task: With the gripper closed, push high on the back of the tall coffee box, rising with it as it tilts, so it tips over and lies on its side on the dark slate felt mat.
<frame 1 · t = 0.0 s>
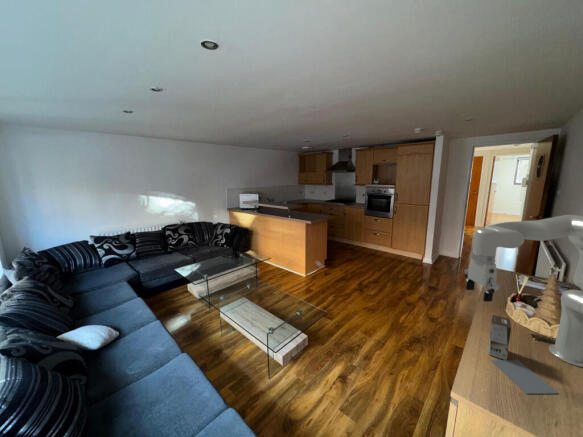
hand: (478, 295, 100), 31 cm above the sideboard, tool pointing down, fingers open, 9 cm apart
coffee box: (497, 352, 108), on the sideboard, touching felt mat
felt mat: (522, 376, 95), on the sideboard
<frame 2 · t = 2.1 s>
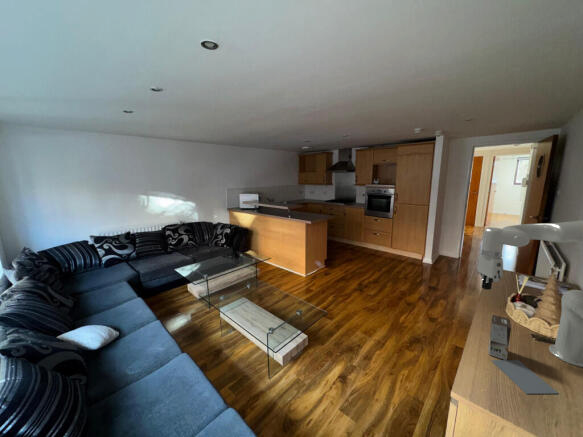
hand: (486, 288, 113), 27 cm above the sideboard, tool pointing down, fingers closed
nothing on the sideboard moved.
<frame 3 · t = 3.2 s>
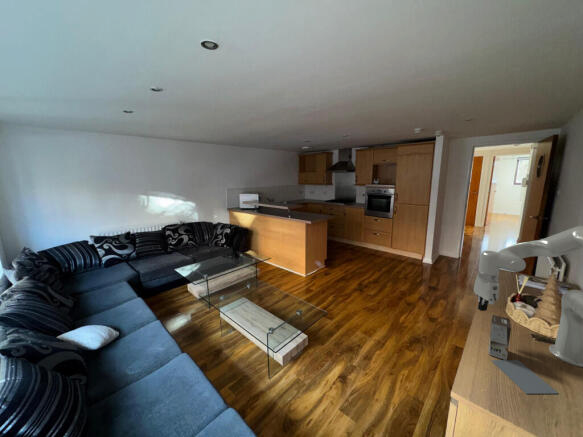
hand: (482, 309, 116), 15 cm above the sideboard, tool pointing down, fingers closed
nothing on the sideboard moved.
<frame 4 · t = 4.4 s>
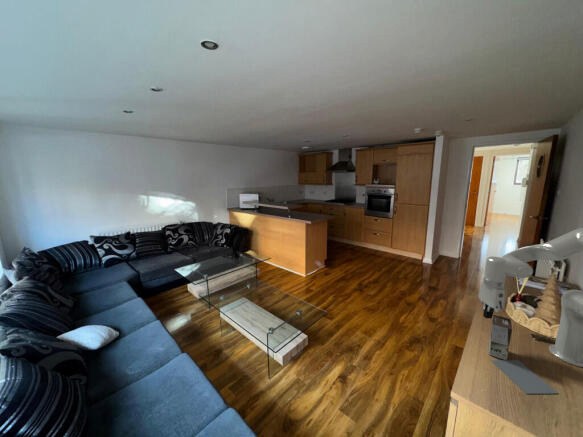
hand: (487, 317, 112), 14 cm above the sideboard, tool pointing down, fingers closed
coffee box: (497, 351, 108), on the sideboard, touching felt mat, gripper
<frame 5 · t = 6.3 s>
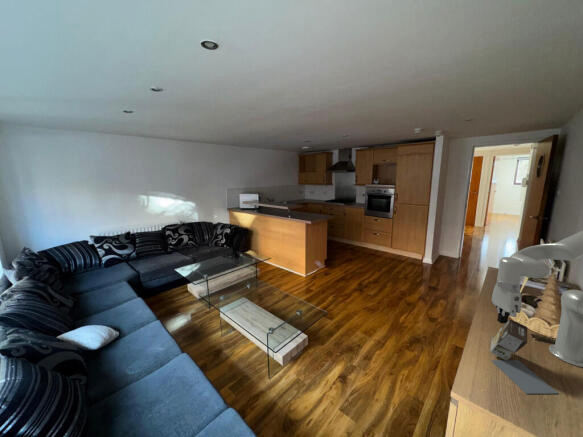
hand: (502, 322, 105), 16 cm above the sideboard, tool pointing down, fingers closed
coffee box: (498, 348, 107), point 2 cm above the sideboard, touching felt mat, gripper
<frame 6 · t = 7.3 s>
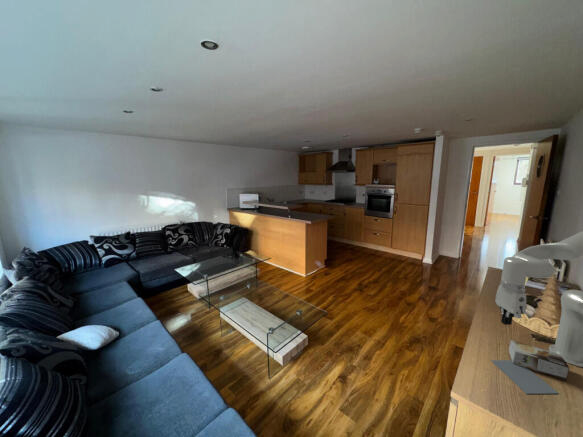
hand: (506, 323, 103), 17 cm above the sideboard, tool pointing down, fingers closed
coffee box: (510, 350, 104), point 4 cm above the sideboard, touching felt mat
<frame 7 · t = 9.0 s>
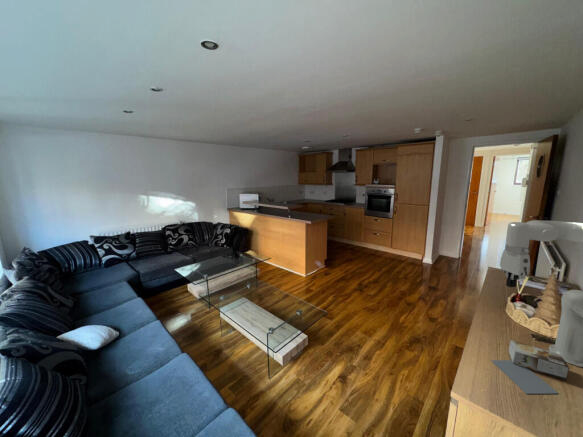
hand: (510, 286, 108), 31 cm above the sideboard, tool pointing down, fingers closed
nothing on the sideboard moved.
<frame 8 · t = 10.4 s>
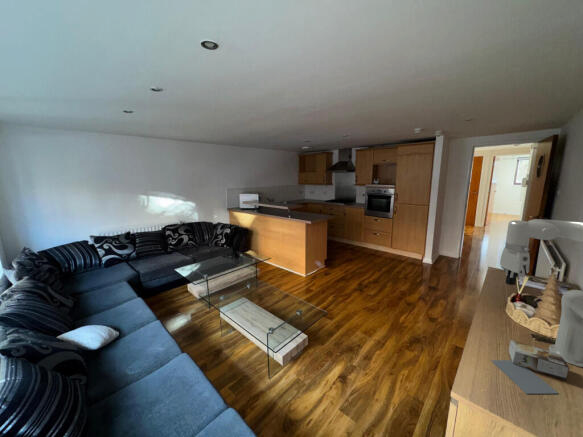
hand: (510, 284, 109), 31 cm above the sideboard, tool pointing down, fingers closed
nothing on the sideboard moved.
at the end: coffee box tilted 91°; coffee box touching felt mat, sideboard; coffee box inside the target area (3.6 cm from its centre), point 3.5 cm above the sideboard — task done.
